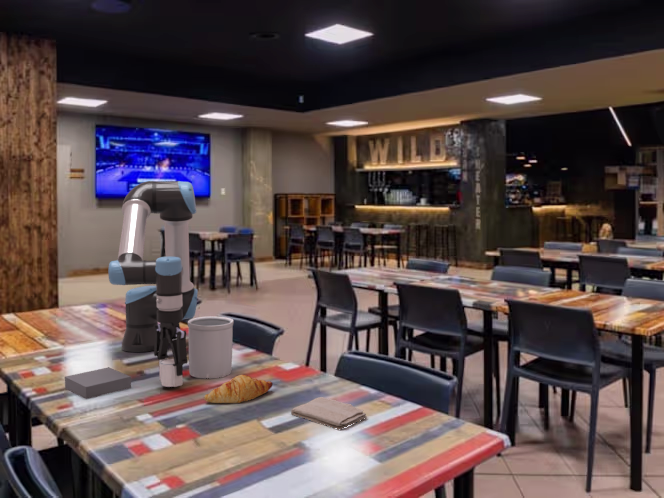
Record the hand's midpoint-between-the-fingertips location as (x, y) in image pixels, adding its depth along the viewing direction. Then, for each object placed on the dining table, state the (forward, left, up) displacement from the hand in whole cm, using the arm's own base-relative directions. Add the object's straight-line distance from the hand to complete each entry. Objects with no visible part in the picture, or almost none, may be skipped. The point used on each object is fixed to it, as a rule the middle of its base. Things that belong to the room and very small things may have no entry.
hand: (170, 382), depth 183 cm
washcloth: (-15, +51, -2) cm, 53 cm away
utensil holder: (-18, -4, -2) cm, 18 cm away
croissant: (-8, +22, -2) cm, 24 cm away
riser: (+15, -16, -2) cm, 22 cm away
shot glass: (0, 0, -1) cm, 1 cm away
